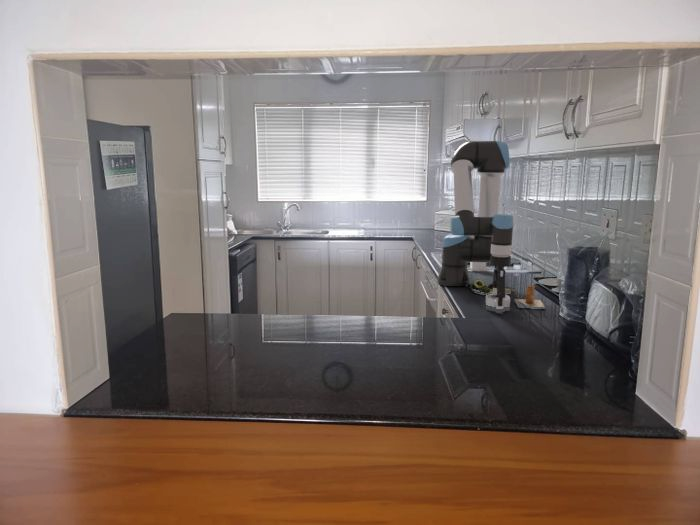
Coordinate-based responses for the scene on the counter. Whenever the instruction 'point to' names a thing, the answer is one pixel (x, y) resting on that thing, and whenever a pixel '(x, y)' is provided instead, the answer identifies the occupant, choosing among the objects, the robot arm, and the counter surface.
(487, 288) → the salad plate
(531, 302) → the keeper
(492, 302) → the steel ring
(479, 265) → the medicine bottle
